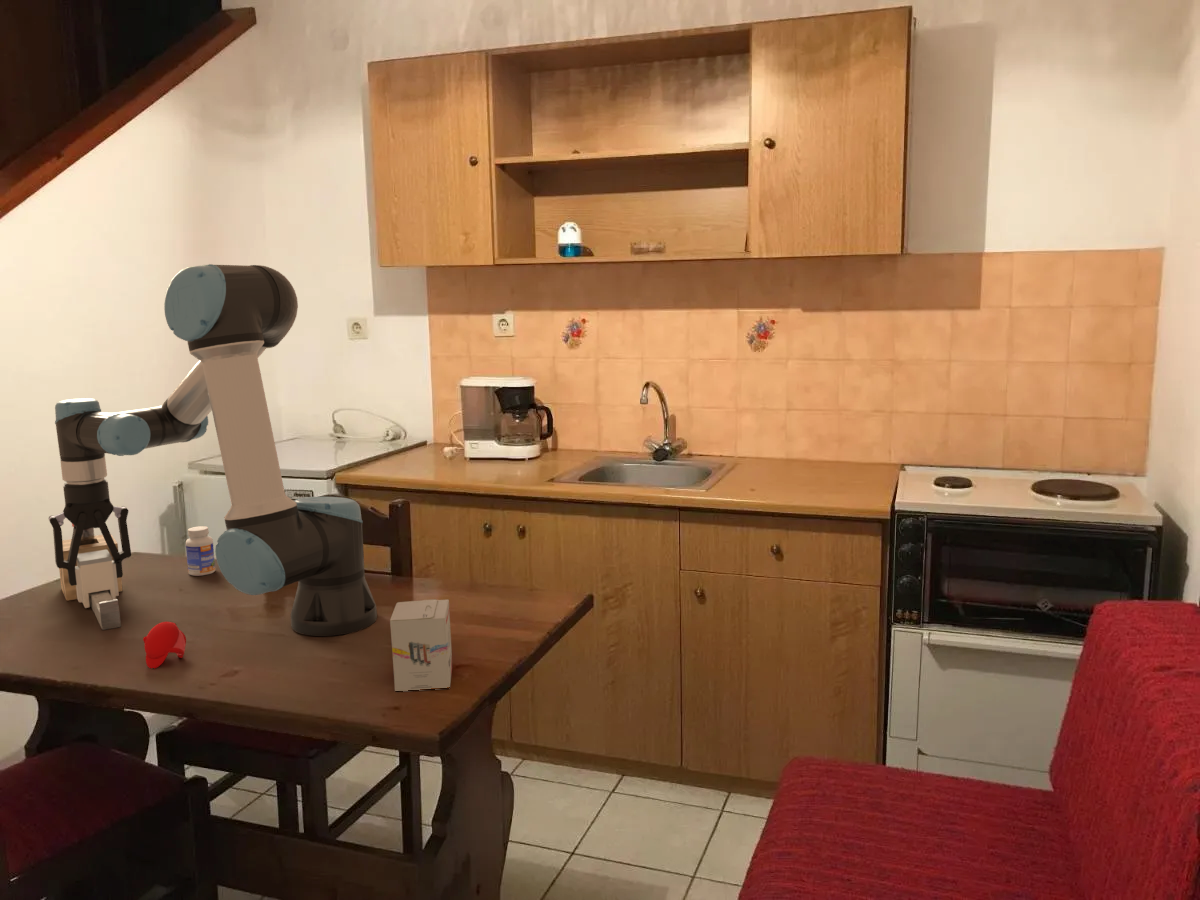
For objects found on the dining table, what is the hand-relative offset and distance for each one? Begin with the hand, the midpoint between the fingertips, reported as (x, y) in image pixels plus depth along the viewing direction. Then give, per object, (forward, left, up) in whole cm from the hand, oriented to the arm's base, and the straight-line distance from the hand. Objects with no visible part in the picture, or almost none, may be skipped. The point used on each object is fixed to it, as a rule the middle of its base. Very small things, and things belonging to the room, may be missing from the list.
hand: (98, 597), depth 187 cm
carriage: (0, 0, -1) cm, 1 cm away
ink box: (-70, -37, -2) cm, 79 cm away
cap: (-38, -5, -2) cm, 38 cm away
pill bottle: (+9, -21, -2) cm, 23 cm away
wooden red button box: (+10, 0, -1) cm, 10 cm away
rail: (-5, 0, -1) cm, 6 cm away
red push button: (+10, 0, +8) cm, 13 cm away
